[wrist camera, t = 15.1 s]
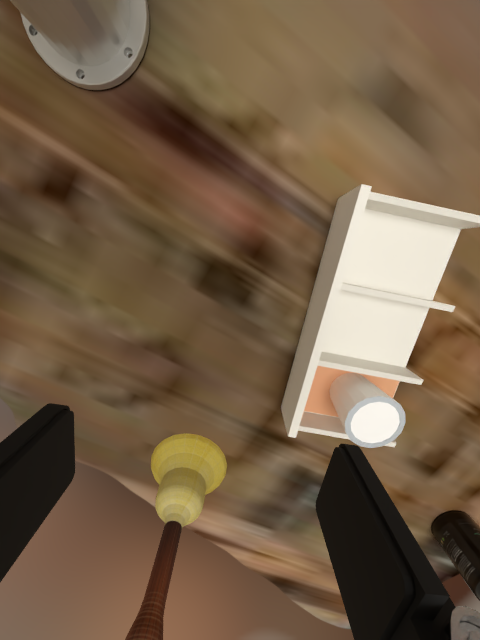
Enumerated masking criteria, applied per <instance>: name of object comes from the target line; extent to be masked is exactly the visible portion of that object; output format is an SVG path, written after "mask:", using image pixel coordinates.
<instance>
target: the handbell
mask: <svg viewBox="0 0 480 640" xmlns="http://www.w3.org/2000/svg"><path fill="white" fill-rule="evenodd" d="M226 469H227V463H226V459H225V455H224V454H223V452H222V451H221V449H220V448H219V447H218V446H217V445H216V444H215V443H213V442H212V441H211V440H210V439H207V438H205V437H202V436H200V435H195V434H186V433H185V434H179V435H173V436H171V437H169V438H167V439H165V440H163V441H162V442H161V443H160V444H159V445H158V446H157V447H156V448H155V450H154V452H153V454H152V456H151V470H152V473H153V475H154V478H155V480H156V481H157V482H158V484H159V485H160V486H159V489H158V493H157V496H156V505H155V507H156V510H157V513H158V515H159V517H160V518H161V519H162V520H163V521H164V522H165V527H164V530H163V534H162V537H161V541H160V545H159V548H158V551H157V555H156V558H155V562H154V565H153V569H152V572H151V576H150V579H149V583H148V586H147V590H146V593H145V597H144V600H143V602H142V605H141V608H140V611H139V613H138V615H137V617H136V619H135V621H134V623H133V625H132V627H131V629H130V631H129V633H128V635H127V637H126V639H125V640H163V615H164V608H165V602H166V598H167V593H168V588H169V584H170V579H171V575H172V570H173V566H174V561H175V556H176V552H177V548H178V543H179V538H180V534H181V530H182V527H183V526H185V525H188V524H190V523H192V522H193V521H194V520H195V519H197V518H198V516H199V515H200V513H201V511H202V508H203V504H204V499H205V495H206V494H208V493H211V492H212V491H213V490H214V489H216V488H217V487H218V486H219V485H220V484H221V482H222V480H223V478H224V477H225V475H226Z"/></svg>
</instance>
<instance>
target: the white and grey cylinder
mask: <svg viewBox="0 0 480 640" xmlns="http://www.w3.org/2000/svg"><path fill="white" fill-rule="evenodd" d="M329 392H330V398H331V400H332V403H333V405H334V407H335V409H336V412H337V414H338V416H339V419H340V421H341V423H342V425H343V428H344V430H345V432H346V434H347V435H348V437H349V438H350V440H351V441H352V442H354V443H356V444H357V445H359V446H362V447H368V448H374V447H381V446H384V445H386V444H388V443H390V442H392V441H393V440H394V439H395V438H396V437H397V436H398V435H399V434H400V433H401V432H402V430H403V427H404V425H405V412H404V410H403V409H402V407H401V405H400V404H399V403H398V402H396V401H395V400H394V399H393V398H391V397H390V396H389V395H387V394H386V393H385V392H383V391H382V390H381V389H379V388H378V387H377V386H375V385H374V384H373V383H371V382H370V381H369V380H368V379H366V378H365V377H363V376H362V375H360V374H358V373H352V372H351V373H345V374H342V375H341V376H339V377H337V378H336V379H335V380H334V381H333V383H332V384H331V387H330V390H329Z"/></svg>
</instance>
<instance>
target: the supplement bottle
mask: <svg viewBox="0 0 480 640" xmlns="http://www.w3.org/2000/svg"><path fill="white" fill-rule="evenodd" d="M432 531H433V534H434V536H435V538H436V539H437V541H438V542H439V544H440V545H441V547H442V548H443V550H444V551H445V552H446V554H447V555H448V557H449V558H450V560H451V561H452V563H453V564H454V566H455V567H456V569H457V570H458V571H459V573H460V574H461V576H462V577H463V579H464V580H465V582H466V583H467V585H468V586H469V587H470V589H471V590H472V592H473V593H474V595H475V596H476V597H477V598H478V600H479V601H480V527H479V526H478V525H477V524H476V523H475V521H474V520H473V519H472V518H471V517H470V516H468V515H467V514H465V513H463V512H459V511H450V512H446V513H444V514H442V515H440V516H439V517H438V518H437V519H436V520H435V521H434V523H433V526H432Z"/></svg>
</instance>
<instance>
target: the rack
mask: <svg viewBox="0 0 480 640" xmlns="http://www.w3.org/2000/svg"><path fill="white" fill-rule="evenodd" d="M371 187H372V186H368V185H363V184H361V185H359V186H358V187H356V188H354V189H353V190H351V191H349V192H348V193H346V194H344V195H343V196H341V197H339V198H338V200H337V204H336V208H335V211H334V215H333V218H332V222H331V226H330V229H329V233H328V237H327V240H326V244H325V248H324V251H323V255H322V259H321V262H320V266H319V270H318V273H317V277H316V281H315V284H314V288H313V292H312V295H311V299H310V303H309V306H308V310H307V314H306V317H305V321H304V324H303V328H302V332H301V335H300V339H299V343H298V346H297V350H296V354H295V357H294V361H293V365H292V368H291V372H290V376H289V379H288V383H287V387H286V390H285V394H284V398H283V401H282V405H281V411H282V415H283V419H284V423H285V427H286V430H287V434H288V436H289V437H294V438H296V435H297V432H298V430H299V431H304V432H310V433H316V434H322V435H327V436H333V437H339V438H344V439H350V438H349V437H348V435H347V434H346V432H345V430H344V428H343V425H342V423H341V421H340V419H339V416H338V414H337V412H336V409H335V407H334V405H333V403H332V400H331V398H330V392H329V390H330V387H331V384H332V383H333V381H334V380H335V379H336V378H337V377H339V376H341V375H342V374H345V373H351V372H352V373H358V374H360V375H362V376H363V377H365V378H366V379H368V380H369V381H370V382H371V383H373V384H374V385H375V386H377V387H378V388H379V389H381V390H382V391H383V392H385V393H386V394H387V395H389V396H390V397H391V398H393V397H394V394H395V392H396V389H397V387H398V384H399V382H400V381H403V382H408V383H414V384H419V385H422V382H423V379H421V378H420V377H418V376H417V375H416V374H414V373H413V372H411V371H410V370H408V369H407V368H405V367H406V364H407V362H408V359H409V357H410V355H411V352H412V350H413V347H414V345H415V342H416V340H417V337H418V335H419V332H420V330H421V327H422V325H423V322H424V320H425V317H426V315H427V312H428V310H429V307H430V308H435V309H440V310H445V311H450V312H453V310H454V308H455V306H452V305H448V304H444V303H440V302H435V301H432V300H433V297H434V295H435V293H436V290H437V288H438V285H439V283H440V280H441V278H442V275H443V273H444V270H445V268H446V265H447V263H448V260H449V258H450V255H451V253H452V250H453V248H454V245H455V243H456V240H457V238H458V235H459V233H460V230H461V229H466V228H474V227H480V216H479V215H474V214H470V213H465V212H460V211H456V210H451V209H447V208H442V207H438V206H433V205H429V204H424V203H419V202H415V201H410V200H406V199H401V198H397V197H392V196H388V195H383V194H378V193H374V192H370V190H371ZM395 445H396V442H395V441H394V440H393V441H392V442H390V443H388V444H386V445H384V446H390V447H395Z"/></svg>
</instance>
